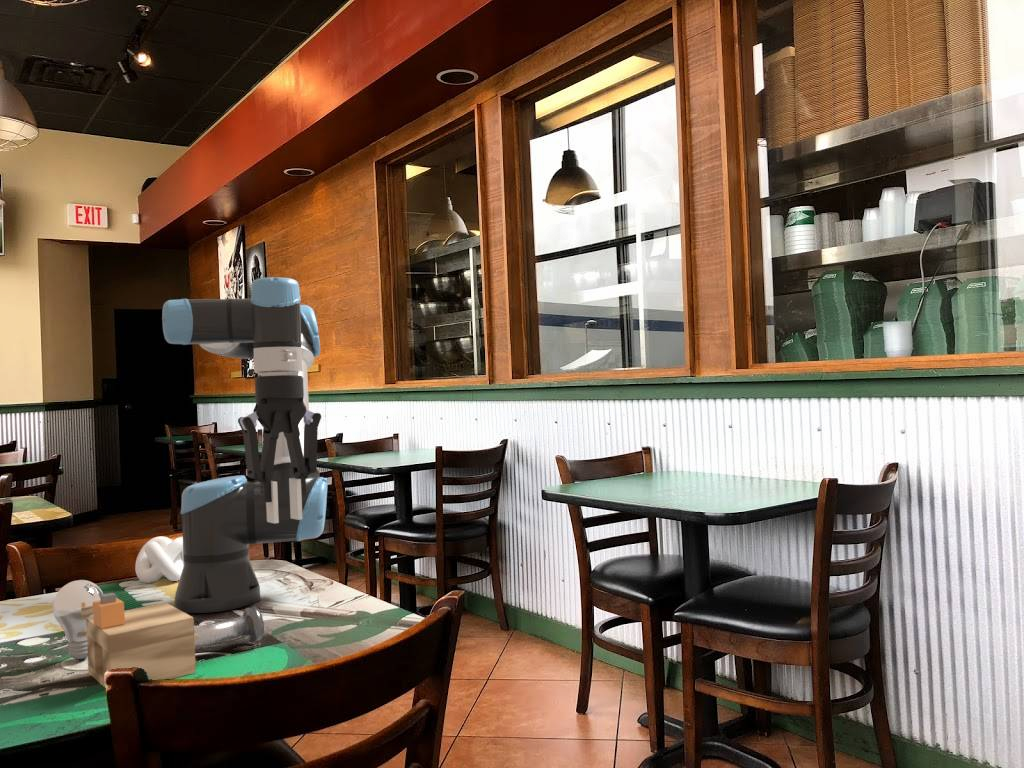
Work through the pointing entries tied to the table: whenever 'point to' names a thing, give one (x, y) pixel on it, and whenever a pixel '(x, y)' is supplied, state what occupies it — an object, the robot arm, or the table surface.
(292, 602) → the table surface
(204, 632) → the pin
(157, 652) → the block
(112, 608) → the bar
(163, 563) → the white knot sculpture
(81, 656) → the light bulb
